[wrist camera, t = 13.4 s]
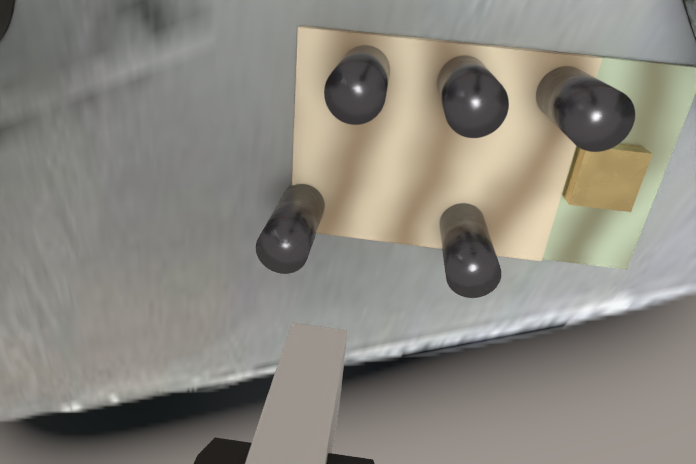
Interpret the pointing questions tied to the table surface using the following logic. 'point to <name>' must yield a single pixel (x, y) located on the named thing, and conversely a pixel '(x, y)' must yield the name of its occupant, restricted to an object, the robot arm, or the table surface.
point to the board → (474, 149)
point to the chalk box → (691, 13)
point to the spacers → (466, 120)
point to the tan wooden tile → (607, 177)
